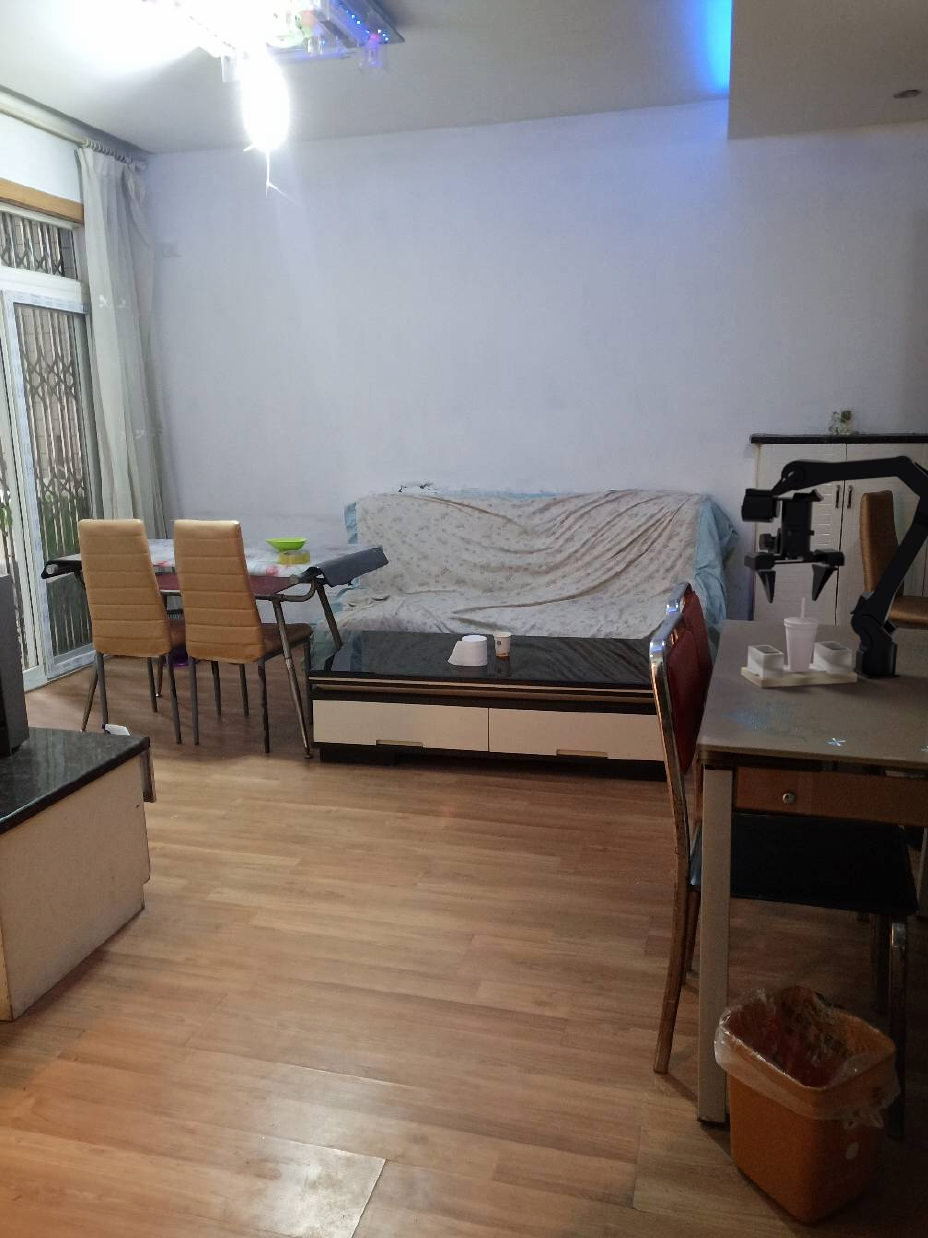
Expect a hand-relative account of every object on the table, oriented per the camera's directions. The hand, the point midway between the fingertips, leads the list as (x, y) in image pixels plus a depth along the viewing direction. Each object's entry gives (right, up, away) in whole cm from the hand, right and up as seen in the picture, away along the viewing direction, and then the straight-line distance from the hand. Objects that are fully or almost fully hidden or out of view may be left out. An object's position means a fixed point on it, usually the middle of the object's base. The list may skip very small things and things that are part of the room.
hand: (792, 601), depth 194 cm
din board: (-1, -15, -7) cm, 17 cm away
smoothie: (-1, -13, -7) cm, 15 cm away
